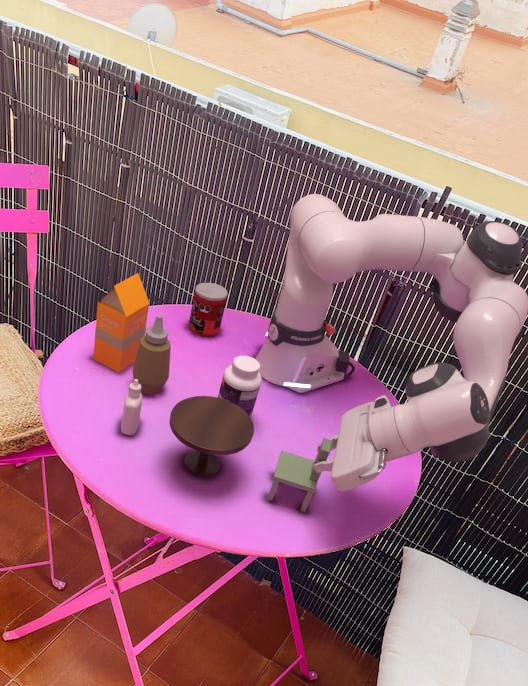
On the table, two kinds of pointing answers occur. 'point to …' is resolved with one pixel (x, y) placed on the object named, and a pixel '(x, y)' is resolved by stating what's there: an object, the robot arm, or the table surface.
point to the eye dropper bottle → (132, 409)
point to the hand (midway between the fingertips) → (317, 459)
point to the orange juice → (121, 324)
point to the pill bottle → (241, 383)
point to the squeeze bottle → (153, 359)
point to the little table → (210, 431)
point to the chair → (299, 472)
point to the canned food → (207, 309)
